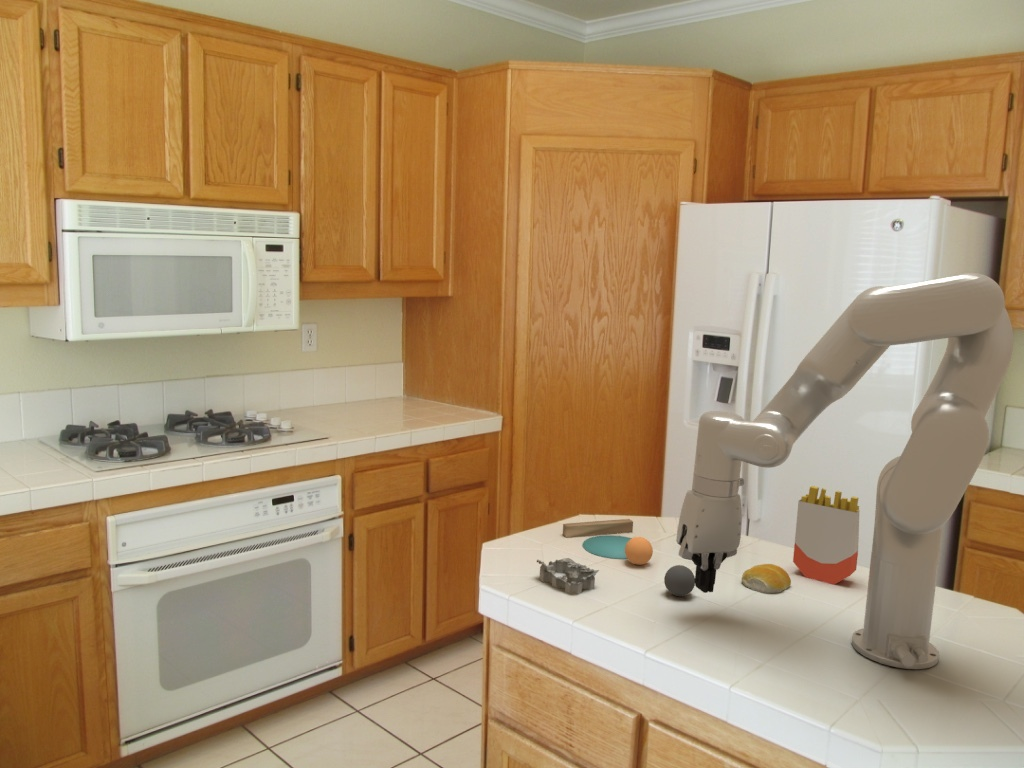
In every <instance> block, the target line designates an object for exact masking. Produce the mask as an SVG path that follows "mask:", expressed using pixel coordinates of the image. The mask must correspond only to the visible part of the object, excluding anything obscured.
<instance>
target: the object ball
mask: <svg viewBox="0 0 1024 768" xmlns="http://www.w3.org/2000/svg"><path fill="white" fill-rule="evenodd" d="M631 538H632V539H630V540H629V541H628V542H627V544H626V546H625V555H626V557H627V559H626V560H628V561H629V562H630V563H632V564H633V565H637V566H642V565H645V564H647V563H649V561H650V560H651V559H652V557H653V551H654V549H653V546H652V544H651V541H649V540H648V539H647V538H645V537H641V536H634V537H631Z"/></svg>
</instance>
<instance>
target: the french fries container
mask: <svg viewBox="0 0 1024 768" xmlns="http://www.w3.org/2000/svg"><path fill="white" fill-rule="evenodd" d="M819 490H820V494H819ZM826 492H827V489H826V488H823V487H822V488H821V489H820V487H818V486H815V485H812V486H809V489H808V494H805V495H802V496H801V499H799V500H798V502H797V503H798V505H797V511H796V512H797V513H796V523H795V524H796V525H795V534H794V535H795V536H794V537H795V538H794V545H793V546H794V547H793V557H792V562H793V563H794V565H795V566H796V567H797V569H798V570H799V571H800V572H801V573H802V574H803V576H804V577H805V578H807V579H811V580H815V581H820V582H823V583H828V584H831V585H836V584H837V583H839V582H842V581H843V580H845V579H847V578H849V577H850V576H852V575H853V574H854V573H855V572H856V571H857V566H858V565H857V564H858V555H859V542H860V541H859V539H860V537H859V535H860V534H859V532H860V506H859V505H858V503H859V497H856V496H851V497H850V500H848V497H842V493H843V492H842V491H839V490H836V491H835V493H834V499H833V503H832V504H831V501H832V500H831V499H832V498H831V496H829V495H826V494H827V493H826ZM818 495H819V497H818Z"/></svg>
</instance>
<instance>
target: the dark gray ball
mask: <svg viewBox="0 0 1024 768" xmlns="http://www.w3.org/2000/svg"><path fill="white" fill-rule="evenodd" d="M663 579H664V580H663V581H664V582H663V583H664V585H665V588H666V590H667V591H668V592H669V593H670V594H671V595H674V596H675V597H685V596H687V595H689V594H691V592H692V591H693V590H694V588H695V587H696V586H695V575H694V572H693V571H692V570H691V569H690V568H689V567H687V566H685V565H681V564H678V565H673V566H671V567H670V568H669V569H667V571H666V572H665V574H664V578H663Z"/></svg>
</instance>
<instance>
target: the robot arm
mask: <svg viewBox="0 0 1024 768" xmlns="http://www.w3.org/2000/svg"><path fill="white" fill-rule="evenodd" d="M1005 302H1006V299H1005V295H1004V291H1003V290H1002V288H1001V286H1000V285H999V284H998V282H996V281H995V280H994V279H993V278H991V277H989V276H987V275H985V274H981V273H977V272H968V271H967V272H966V271H964V272H958V273H957V272H956V273H954V274H951V275H948V276H947V277H946V276H945V277H940V278H937V279H936V278H934V279H929V280H925V281H924V280H923V281H919V282H918V281H917V282H912V283H906V284H899V285H891V286H872V287H869V288H867V289H865V290H863V291H862V292H860V293H859V294H858V295H857V296H856V297H855V298H854V300H853V301H852V302H851V303H850V304H849V305H848V306H847V308H846V309H845V310H844V311H843V312H842V313H841V315H840V316H839V317H838V318H837V319H836V320H835V321H834V322H833V323H832V325H831V326H830V328H829V329H828V330H827V331H826V332H825V333H824V334H823V335H822V337H821V338H820V339H819V340H818V341H817V343H815V345H814V346H813V347H812V348H811V349H810V351H808V353H807V354H805V356H804V357H803V358H802V360H801V361H800V363H799V364H798V366H797V368H796V369H795V371H794V372H793V374H792V375H791V376H790V377H789V379H787V381H786V382H785V383H784V385H783V386H782V387H781V388H780V389H779V390H778V392H777V393H776V394H775V395H774V396H773V398H772V399H771V400H770V401H769V402H768V403H767V404H766V406H764V408H763V409H762V410H761V411H760V412H759V414H758V415H757V416H756V417H755V418H754V419H753V421H752V420H745V419H744V418H743V416H741V415H739V414H737V413H733V412H728V411H722V410H721V411H720V410H719V411H718V410H710V411H707V412H704V413H702V414H701V415H700V417H699V420H698V427H697V428H698V429H697V437H696V448H695V458H694V465H693V466H694V468H693V476H692V477H693V478H692V485H691V489H690V490H687V491H686V494H685V496H684V499H683V502H682V507H681V509H680V515H679V518H678V525H677V531H676V543H677V544H678V545H679V546H680V548H679V551H678V556H679V557H681V558H682V559H684V560H688V561H691V562H692V563H693V564H694V565H695V567H696V568H695V575H694V577H695V586H694V587H696V588H697V589H698V590H700V591H701V592H702V593H703V594H704V593H706V594H707V593H713V592H714V590H715V589H714V588H715V587H714V586H715V583H716V578H717V576H716V575H717V570H720V568H721V565H722V563H723V562H724V561H725V560H726V559H727V558H731V557H734V556H736V555H737V553H738V550H737V549H739V546H740V544H741V543H740V542H741V536H742V527H743V525H742V522H743V521H742V520H743V513H742V511H743V508H742V499H741V494H739V489H740V487H743V486H744V485H745V480H744V477H743V478H742V477H741V470H742V462H743V463H746V464H749V465H753V466H756V467H760V468H765V469H767V468H776V467H778V466H781V465H782V464H783V463H785V462H786V461H787V460H788V458H789V457H790V455H791V452H792V448H793V446H794V444H795V443H796V441H797V440H798V439H799V438H800V436H802V434H803V433H804V432H805V431H806V430H807V429H808V427H810V425H811V424H812V423H813V422H814V421H815V420H816V419H817V418H818V417H819V415H820V414H822V413H823V412H824V411H825V410H826V409H827V408H828V407H829V406H830V405H832V404H834V403H835V402H836V401H839V400H841V399H842V398H843V397H845V396H846V395H847V394H848V393H849V392H850V391H851V390H852V389H853V388H854V387H856V385H857V384H858V382H859V381H860V380H861V379H862V378H863V377H864V376H865V374H866V373H867V372H869V370H870V369H871V368H872V367H873V365H874V364H875V363H876V362H877V361H878V360H879V359H880V358H881V356H882V355H883V354H885V352H886V351H887V350H888V349H889V348H890V347H891V346H898V345H905V344H906V345H907V344H908V345H909V344H913V343H923V342H930V341H935V340H942V339H943V340H944V339H947V344H946V349H945V351H944V352H945V353H944V355H943V357H942V359H941V361H940V363H939V365H938V368H937V370H936V372H935V374H934V375H933V379H932V380H931V382H930V383H929V385H928V388H927V390H926V391H925V394H924V395H923V397H922V399H921V400H920V402H919V404H918V406H917V407H916V409H915V411H914V412H913V415H912V417H911V421H910V422H911V423H910V425H911V427H910V428H911V429H910V430H911V434H910V436H909V439H908V440H907V443H906V445H905V447H904V448H903V450H902V453H901V454H900V455H898V456H897V457H894V458H893V459H891V460H890V461H888V462H887V463H886V464H885V465H884V467H882V470H881V472H880V473H879V476H878V479H877V486H876V497H875V500H876V501H875V511H874V512H875V513H874V515H875V516H874V524H873V525H874V526H873V535H872V545H871V555H870V564H869V571H868V572H869V573H868V581H867V593H866V602H865V610H864V611H865V612H864V620H863V622H864V623H863V628H860V629H858V630H856V631H854V632H853V633H852V634H851V645H852V647H853V648H854V650H855V651H856V652H858V653H860V655H862V656H864V657H865V658H867V659H869V660H871V661H874V662H876V663H879V664H881V665H882V664H883V665H885V666H888V667H893V668H898V669H903V670H904V669H905V670H924V669H928V668H932V667H934V666H935V665H937V663H938V662H939V656H940V654H939V653H940V652H939V650H938V649H937V647H936V646H934V645H933V643H931V642H930V637H931V628H932V623H933V622H932V621H933V611H934V603H935V597H936V586H937V577H938V569H939V563H940V553H941V544H942V536H943V535H942V534H943V526H944V525H945V524H947V522H948V521H949V520H950V518H951V517H952V515H953V514H954V512H955V511H956V509H957V508H958V505H959V503H960V502H961V500H962V498H963V496H964V494H965V493H966V491H967V489H968V487H969V485H970V483H971V482H972V480H973V478H974V475H975V473H976V472H977V471H978V468H979V467H980V464H981V462H982V460H983V458H984V456H985V454H986V452H987V449H988V445H989V440H990V430H989V426H988V423H987V420H986V416H987V414H988V412H989V410H990V407H991V405H992V403H993V402H994V399H995V398H996V395H997V393H998V391H999V388H1000V386H1001V384H1002V382H1003V380H1004V378H1005V376H1006V375H1007V371H1008V370H1009V369H1008V368H1009V366H1010V364H1011V361H1012V358H1013V357H1012V356H1013V351H1014V332H1013V326H1012V322H1011V319H1010V315H1009V313H1008V311H1007V309H1006V307H1005V305H1006V303H1005Z"/></svg>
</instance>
